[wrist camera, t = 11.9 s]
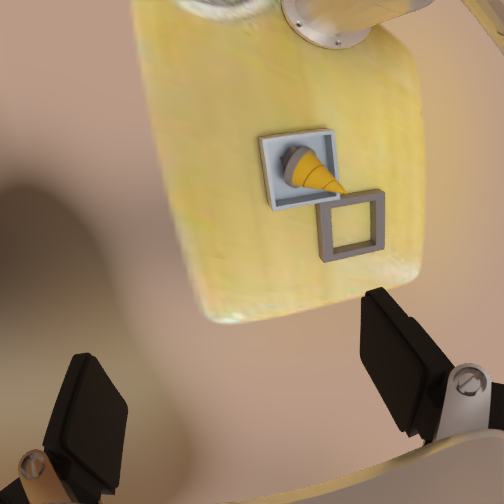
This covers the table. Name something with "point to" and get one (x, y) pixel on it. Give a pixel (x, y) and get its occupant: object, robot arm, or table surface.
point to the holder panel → (356, 249)
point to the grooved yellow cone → (308, 171)
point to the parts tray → (274, 172)
